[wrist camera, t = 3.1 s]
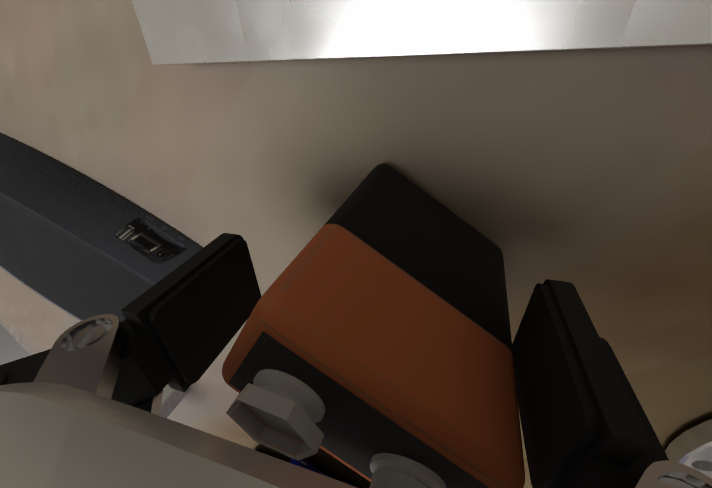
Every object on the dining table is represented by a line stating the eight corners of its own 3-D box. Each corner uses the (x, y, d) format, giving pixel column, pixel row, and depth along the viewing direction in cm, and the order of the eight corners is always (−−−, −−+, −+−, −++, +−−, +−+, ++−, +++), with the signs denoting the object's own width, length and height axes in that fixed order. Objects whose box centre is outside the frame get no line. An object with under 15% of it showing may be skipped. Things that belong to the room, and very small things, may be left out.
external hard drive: (206, 341, 28) (170, 379, 24) (38, 244, 29) (-19, 267, 25) (215, 241, 20) (163, 276, 16) (-16, 112, 21) (-108, 122, 17)
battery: (383, 155, 12) (216, 340, 5) (508, 249, 13) (549, 568, 5) (337, 222, 15) (185, 410, 7) (441, 298, 15) (401, 554, 8)
